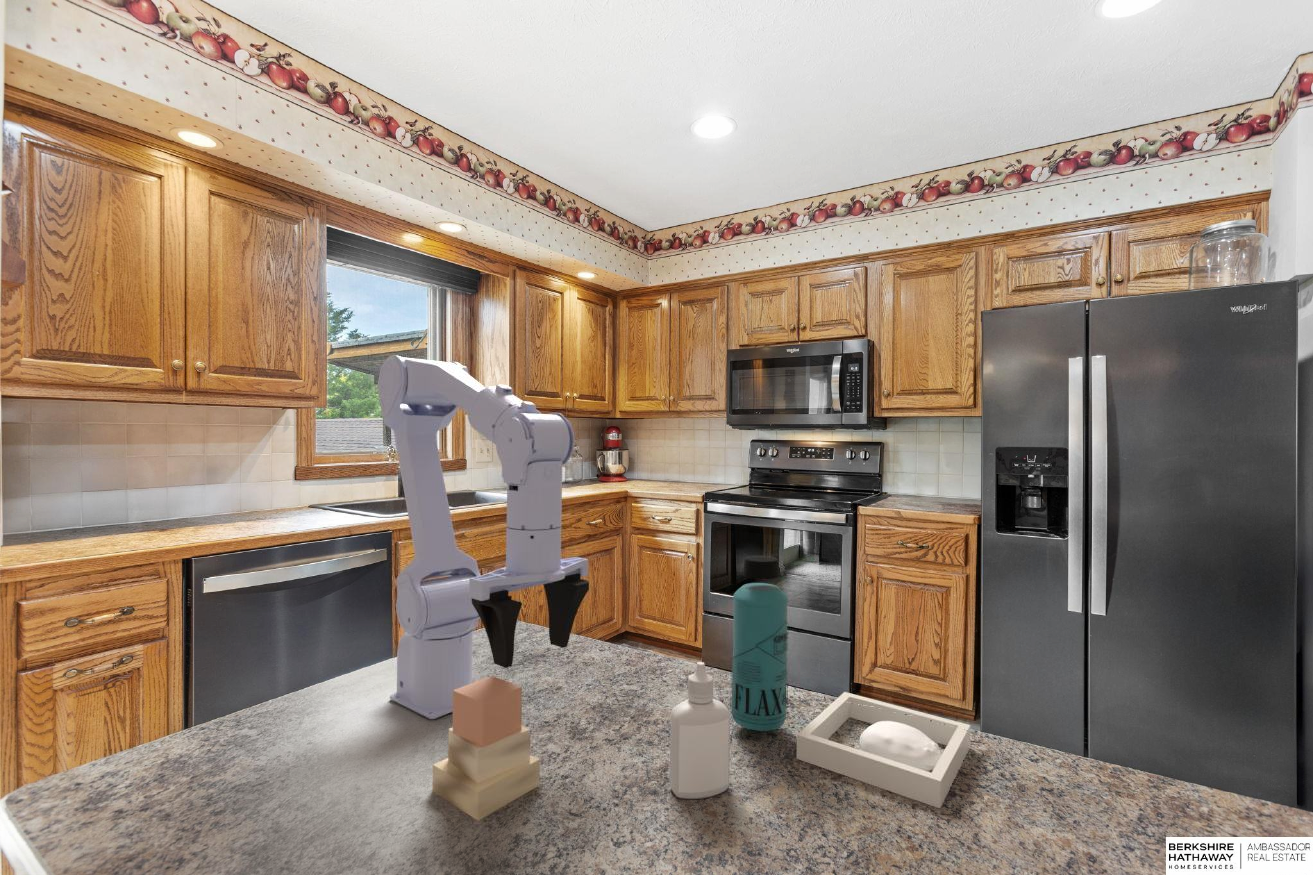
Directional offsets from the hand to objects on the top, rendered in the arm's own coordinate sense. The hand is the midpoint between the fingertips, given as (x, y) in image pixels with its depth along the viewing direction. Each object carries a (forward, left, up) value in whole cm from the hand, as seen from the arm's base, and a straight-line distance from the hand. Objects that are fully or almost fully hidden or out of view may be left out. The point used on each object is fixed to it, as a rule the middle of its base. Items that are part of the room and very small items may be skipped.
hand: (532, 654), depth 65 cm
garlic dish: (+30, +23, -10) cm, 39 cm away
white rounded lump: (+32, +22, -11) cm, 40 cm away
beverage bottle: (+17, +19, -11) cm, 28 cm away
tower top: (+2, -7, -8) cm, 11 cm away
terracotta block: (+2, -7, -5) cm, 9 cm away
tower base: (+2, -7, -11) cm, 13 cm away
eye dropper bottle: (+18, +5, -11) cm, 21 cm away
